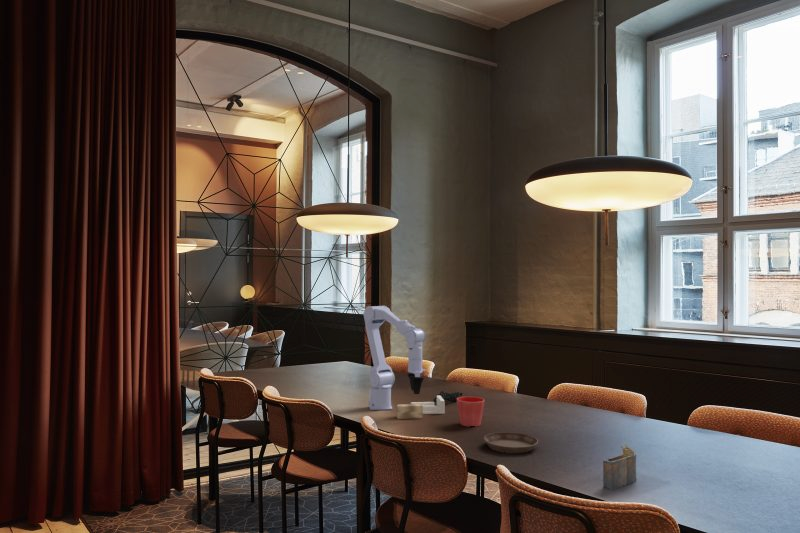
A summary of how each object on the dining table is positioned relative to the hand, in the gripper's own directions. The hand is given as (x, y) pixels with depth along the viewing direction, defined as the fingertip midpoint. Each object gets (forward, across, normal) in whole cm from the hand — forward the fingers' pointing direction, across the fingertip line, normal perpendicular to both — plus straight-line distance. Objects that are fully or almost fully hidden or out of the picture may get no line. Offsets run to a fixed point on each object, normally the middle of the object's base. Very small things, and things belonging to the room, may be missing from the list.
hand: (415, 392), depth 249 cm
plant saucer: (+10, -49, -26) cm, 56 cm away
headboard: (+10, +8, -6) cm, 14 cm away
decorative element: (+10, +22, -17) cm, 30 cm away
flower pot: (+10, -17, -19) cm, 27 cm away
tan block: (+10, -2, +3) cm, 10 cm away
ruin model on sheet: (+10, -87, -45) cm, 99 cm away
